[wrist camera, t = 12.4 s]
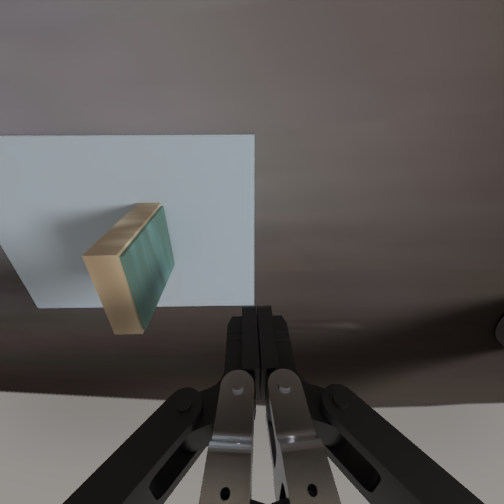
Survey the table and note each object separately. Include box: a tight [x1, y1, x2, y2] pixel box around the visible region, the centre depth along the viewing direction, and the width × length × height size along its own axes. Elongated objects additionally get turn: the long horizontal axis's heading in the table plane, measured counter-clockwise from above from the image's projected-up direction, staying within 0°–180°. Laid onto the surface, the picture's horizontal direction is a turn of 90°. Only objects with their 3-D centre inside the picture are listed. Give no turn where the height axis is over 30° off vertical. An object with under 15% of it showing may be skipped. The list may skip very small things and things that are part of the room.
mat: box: [0, 134, 254, 308], centre depth 22 cm, size 22×16×1 cm
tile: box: [82, 203, 175, 334], centre depth 18 cm, size 2×6×8 cm, turn 1°
